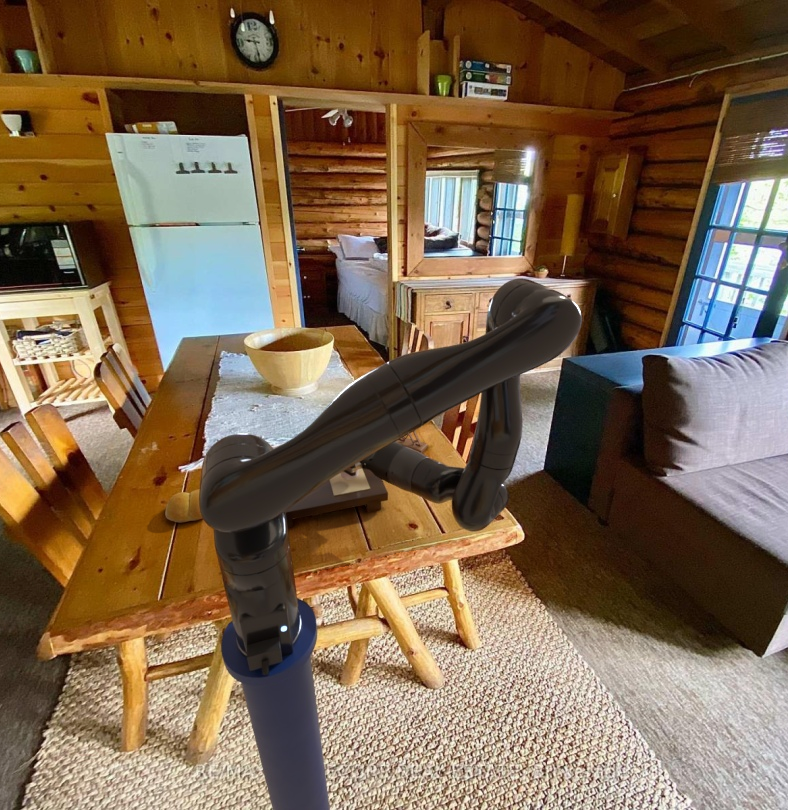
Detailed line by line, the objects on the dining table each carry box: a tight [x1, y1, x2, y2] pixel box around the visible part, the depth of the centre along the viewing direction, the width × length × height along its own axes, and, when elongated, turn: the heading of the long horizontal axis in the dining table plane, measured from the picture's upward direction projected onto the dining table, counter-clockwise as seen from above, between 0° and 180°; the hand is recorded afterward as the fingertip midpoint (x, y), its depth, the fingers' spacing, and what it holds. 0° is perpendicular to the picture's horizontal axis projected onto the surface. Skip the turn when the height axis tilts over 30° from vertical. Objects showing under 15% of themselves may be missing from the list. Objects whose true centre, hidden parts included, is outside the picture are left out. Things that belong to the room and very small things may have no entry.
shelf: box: [286, 468, 389, 529], centre depth 93 cm, size 12×24×4 cm, turn 109°
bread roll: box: [164, 489, 203, 523], centre depth 90 cm, size 8×9×4 cm
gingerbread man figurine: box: [398, 430, 428, 454], centre depth 112 cm, size 9×4×12 cm, turn 62°
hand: (339, 438), depth 91 cm, fingers closed on smoothie, 6 cm apart
